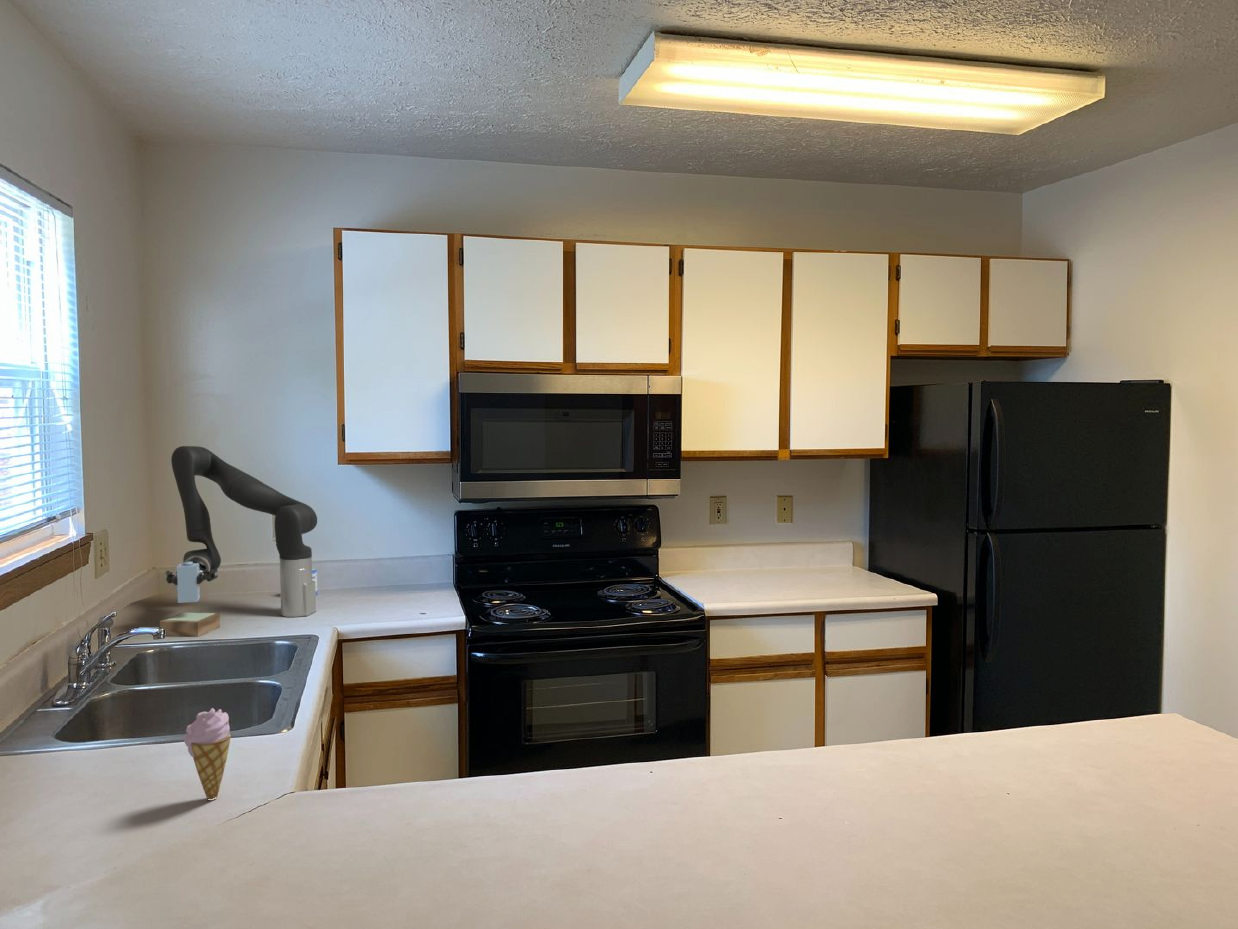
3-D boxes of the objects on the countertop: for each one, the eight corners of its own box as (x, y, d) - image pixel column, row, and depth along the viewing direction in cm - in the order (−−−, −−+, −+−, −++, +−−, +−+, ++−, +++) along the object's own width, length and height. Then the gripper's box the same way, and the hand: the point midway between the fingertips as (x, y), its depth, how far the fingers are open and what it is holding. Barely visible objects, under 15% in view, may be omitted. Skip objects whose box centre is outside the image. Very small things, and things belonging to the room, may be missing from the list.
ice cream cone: (196, 812, 136) (193, 717, 136) (179, 800, 141) (176, 708, 140) (239, 798, 141) (236, 706, 140) (221, 787, 146) (218, 697, 145)
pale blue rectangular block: (199, 598, 251) (198, 560, 250) (197, 601, 246) (196, 563, 245) (180, 599, 249) (179, 561, 249) (177, 603, 245) (176, 564, 244)
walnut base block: (220, 626, 253) (219, 612, 253) (197, 636, 242) (197, 621, 242) (184, 626, 254) (183, 611, 254) (160, 635, 243) (159, 620, 243)
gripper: (167, 558, 258) (157, 569, 242) (221, 556, 263) (215, 566, 247) (168, 584, 259) (158, 596, 243) (222, 581, 263) (215, 592, 247)
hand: (187, 581), depth 245 cm, fingers closed on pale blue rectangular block, 5 cm apart
